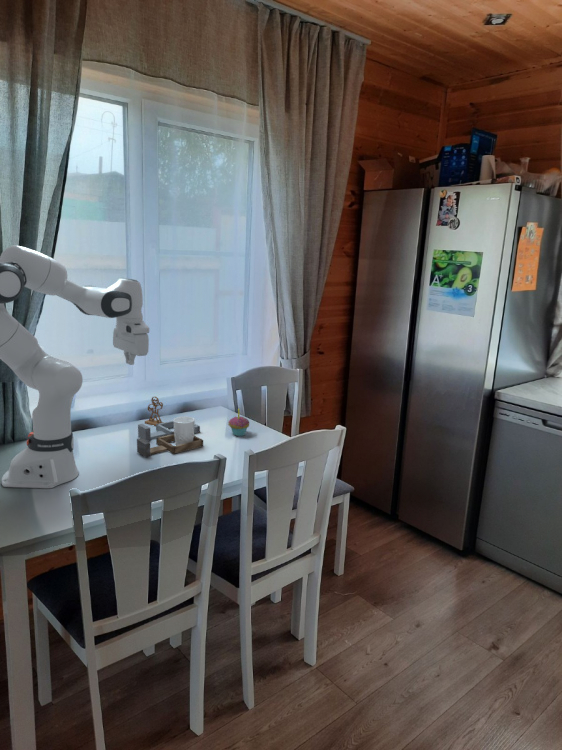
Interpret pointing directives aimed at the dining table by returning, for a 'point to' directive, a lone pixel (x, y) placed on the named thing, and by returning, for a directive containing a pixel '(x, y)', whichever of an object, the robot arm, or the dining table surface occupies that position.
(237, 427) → the cupcake
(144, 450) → the walnut frame
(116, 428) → the dining table surface
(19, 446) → the dining table surface
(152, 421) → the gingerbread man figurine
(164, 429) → the grey frame
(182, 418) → the white cup
